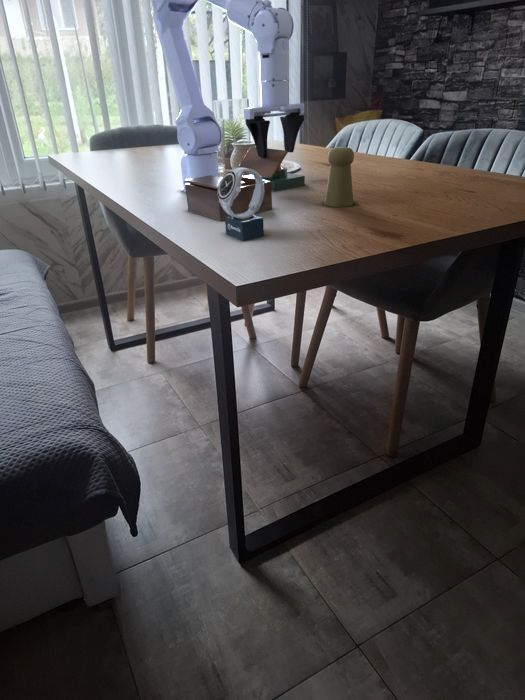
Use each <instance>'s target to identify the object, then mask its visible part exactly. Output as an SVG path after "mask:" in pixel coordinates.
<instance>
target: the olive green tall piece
mask: <svg viewBox="0 0 525 700" xmlns="http://www.w3.org/2000/svg"><path fill="white" fill-rule="evenodd" d="M327 153H328V154H327V162H328V164H329V165H330V166H329V172H328V178H327V186H326V191H325V198H324V205H325V206H327V207H333V208H344V207H351V206H353V205H354V190H353V179H352V164H353V162H354V159H355V153H354V151H353V149H352V148H350V147H347V146H336V147H333V148H330V149H329V150H328V152H327Z"/></svg>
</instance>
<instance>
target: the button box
mask: <svg viewBox="0 0 525 700" xmlns="http://www.w3.org/2000/svg"><path fill="white" fill-rule="evenodd" d="M244 176H245V177H250V178H254V176H252V175H250V174H247V175H244ZM305 178H306V176H305V175H302V174H295V173H290V172H288V168H287V166H282V165H281V169H278V170H277V171H276V172H275V174H274V176H273V177H272V178H267V177H262V179H263V180H266V181H271V190H272V192H278V191H282V190H286V189H291V188H295V187H300V186H305V185H306V181H305V180H306V179H305Z"/></svg>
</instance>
